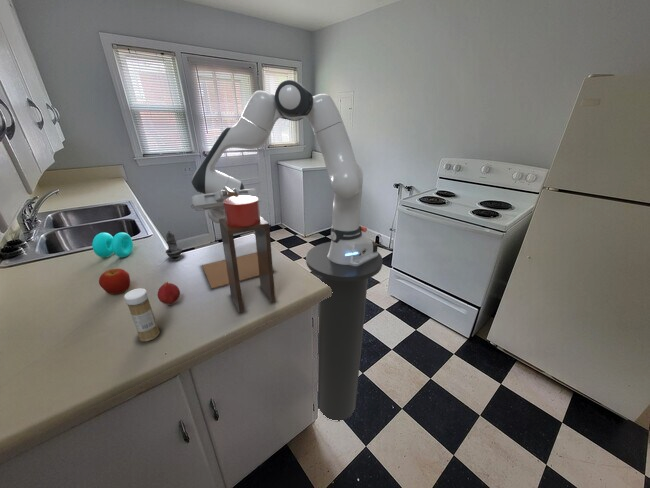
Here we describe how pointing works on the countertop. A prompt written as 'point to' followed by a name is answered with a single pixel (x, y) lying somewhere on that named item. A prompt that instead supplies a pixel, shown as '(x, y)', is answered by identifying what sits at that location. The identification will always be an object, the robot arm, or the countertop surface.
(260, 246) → the shelf
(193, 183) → the robot arm
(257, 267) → the mat
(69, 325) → the countertop surface
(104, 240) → the donuts
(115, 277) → the apple
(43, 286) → the countertop surface
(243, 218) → the saucepan
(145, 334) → the spice jar
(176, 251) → the grey statuette
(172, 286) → the onion
